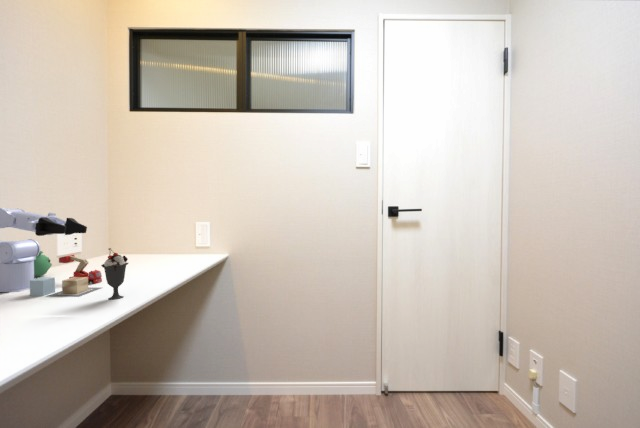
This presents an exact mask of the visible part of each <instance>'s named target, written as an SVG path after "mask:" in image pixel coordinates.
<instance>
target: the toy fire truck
mask: <svg viewBox="0 0 640 428" xmlns="http://www.w3.org/2000/svg"><path fill="white" fill-rule="evenodd" d="M74 262H78V263H79V264H78V265H77V268H76V269H75V271H73V274H72V275H73V276H70V277H68V279H69V278H73V277H88V285H89V284H91V285H93V284H94V285H95V284H96V285H97V284H100V283H102V282H103V278H102V277H103V275H102V272H101V270H97V269H95V270H90V271H89V272H88V271H85V270H84V269H85V268H86V267H87V265H89V261H88V260H87V259H85V258H84V259H83V258H80V257H77V256H75V254H70V255H65V256H61V257H59V258H58V263H59V264H69V263H74Z"/></svg>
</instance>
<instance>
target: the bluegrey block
mask: <svg viewBox="0 0 640 428" xmlns="http://www.w3.org/2000/svg"><path fill="white" fill-rule="evenodd" d="M55 278H56V277H50V276H49V277H45V276H44V277H43V276H41V277H37V278H34V280H30V289H29V297H45V296H48V295H51V294H54V293H56V280H55Z"/></svg>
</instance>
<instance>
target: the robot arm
mask: <svg viewBox="0 0 640 428" xmlns="http://www.w3.org/2000/svg"><path fill="white" fill-rule="evenodd" d="M56 215H57V213H55V212H48V214H47V215H46V214H40V213H35V212H34V213H33V212H31V211H30V212H29V211H25V210H24V209H22V208H21V209H20V208H10V209H8V208H7V209H6V207H0V229H5V228H13V229H18V230H22V231H29V232H33V233H35V235H36V237H37V236H39V237H41V236H46V235H47V236H51V235H59V234H60V235H65V236H70V235H73V234H86V233H87V230H88V227H87V225H84V224H82V223H80V222H78V221H77V220H76V219H74V218H72V217H66V219H65V220H64V219H61V218H59V217H57V216H56ZM40 251H41V245H40V243H39V242H38V241H37V240H35V239H33V238H30V239H25V240H23V239H22V240H12V241H11V240H9V241H8V240H0V293H11V292H13V293H15V292H24V291H26V290H30V280H34V279H35V277H34V260H36V256H38V255H39V253H40Z"/></svg>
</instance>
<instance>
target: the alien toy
mask: <svg viewBox="0 0 640 428" xmlns="http://www.w3.org/2000/svg"><path fill="white" fill-rule="evenodd" d="M43 253H44V252H43V250H40V253H39V255H38V256H36V260H34V278H41V277H43V276H45V275H46V274H47V273H48V271H49V270H50V268H51V267H52V265H53V264H52V263H51V259H50V257H48V256H47V255H45V254H43Z"/></svg>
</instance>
